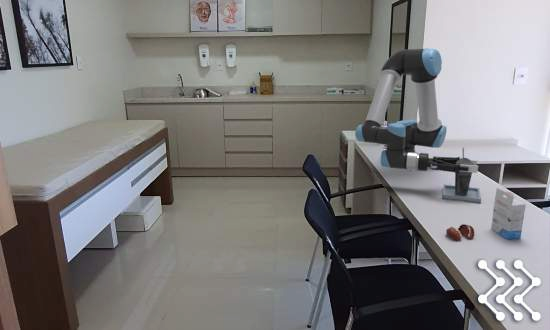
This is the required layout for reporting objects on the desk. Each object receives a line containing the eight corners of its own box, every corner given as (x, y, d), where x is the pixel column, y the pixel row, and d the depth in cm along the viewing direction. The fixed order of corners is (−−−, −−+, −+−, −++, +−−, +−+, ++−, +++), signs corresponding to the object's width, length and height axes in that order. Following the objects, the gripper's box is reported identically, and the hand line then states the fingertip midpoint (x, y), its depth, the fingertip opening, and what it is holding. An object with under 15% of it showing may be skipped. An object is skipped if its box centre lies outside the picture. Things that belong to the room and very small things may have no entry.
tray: (443, 188, 172) (443, 184, 172) (478, 192, 167) (479, 188, 166) (442, 198, 160) (442, 194, 159) (480, 203, 154) (481, 199, 154)
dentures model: (444, 223, 127) (465, 220, 129) (443, 234, 129) (463, 232, 130) (456, 231, 122) (478, 228, 124) (454, 243, 123) (475, 240, 125)
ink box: (521, 238, 124) (528, 195, 120) (506, 239, 124) (513, 196, 120) (504, 227, 133) (510, 186, 129) (490, 228, 132) (495, 187, 128)
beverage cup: (472, 197, 159) (478, 150, 153) (453, 196, 160) (458, 149, 155) (468, 191, 166) (473, 145, 160) (449, 190, 167) (454, 145, 161)
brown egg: (505, 189, 153) (517, 196, 151) (496, 198, 155) (508, 206, 154) (507, 194, 146) (519, 202, 145) (498, 204, 149) (510, 212, 148)
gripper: (419, 163, 177) (475, 168, 168) (415, 176, 159) (477, 182, 150) (420, 147, 175) (477, 151, 166) (416, 158, 157) (479, 164, 148)
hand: (477, 166), depth 158 cm, fingers open, 8 cm apart
